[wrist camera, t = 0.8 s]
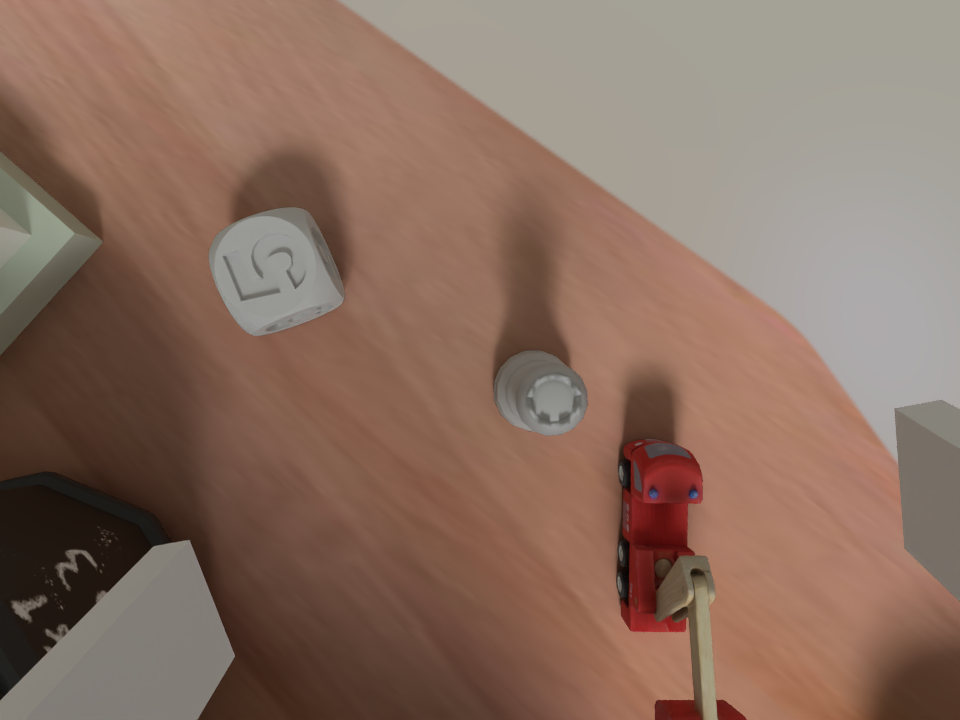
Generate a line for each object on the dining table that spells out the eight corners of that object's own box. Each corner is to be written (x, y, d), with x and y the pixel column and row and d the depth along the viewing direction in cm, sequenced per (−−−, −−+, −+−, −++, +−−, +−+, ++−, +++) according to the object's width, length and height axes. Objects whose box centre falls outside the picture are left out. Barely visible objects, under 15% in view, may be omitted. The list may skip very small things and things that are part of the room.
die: (231, 253, 35) (194, 236, 30) (317, 219, 35) (295, 197, 30) (266, 338, 35) (236, 335, 30) (352, 303, 35) (335, 296, 30)
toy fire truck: (677, 436, 36) (757, 467, 27) (671, 678, 36) (749, 797, 27) (618, 435, 36) (677, 466, 26) (612, 678, 36) (670, 797, 27)
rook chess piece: (477, 403, 36) (483, 418, 28) (519, 334, 36) (537, 330, 28) (545, 444, 36) (571, 472, 28) (587, 376, 36) (625, 383, 28)
